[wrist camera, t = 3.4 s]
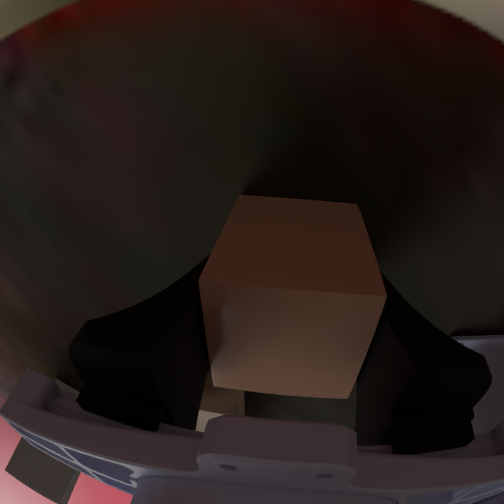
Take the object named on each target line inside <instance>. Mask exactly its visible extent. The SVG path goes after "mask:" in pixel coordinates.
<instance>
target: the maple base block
mask: <svg viewBox="0 0 504 504" xmlns="http://www.w3.org/2000/svg"><path fill="white" fill-rule="evenodd" d="M221 415H243V416H245V401H244V390H236V389H229V388H223V387H216V386H213V380H212V374H211V373H209V372H208V373H207V377H206V381H205V385H204V390H203V394H202V399H201V404H200V409H199V414H198V419H197V425H196V431H199V432H204V430H205V427H206V424H207V422H208V420H209V419H212V418H215V417H218V416H221Z"/></svg>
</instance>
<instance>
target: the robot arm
mask: <svg viewBox="0 0 504 504" xmlns="http://www.w3.org/2000/svg"><path fill="white" fill-rule="evenodd" d="M210 255H211V254H209V255H208V256H207V257H206V258H205V259H204V260H203V261H201V262H200V263H199V264H198V265H197V266H196V267H194V268H193V269H192V270H191V271H190V272H188V273H187V274H186V275H184V276H183V277H182V278H180V279H179V280H178V281H176V282H175V283H173V284H172V285H171V286H169V287H167V288H166V289H164V290H163V291H161V292H159V293H158V294H156V295H154V296H152V297H150V298H148V299H146V300H144V301H142V302H140V303H138V304H136V305H134V306H131V307H129V308H126V309H124V310H121V311H119V312H116V313H113V314H110V315H107V316H103V317H99V318H96V319H92V320H88V321H86V323H85V324H84V325H83V327H82V328H81V330H80V331H79V332H78V334H77V335H76V337H75V338H74V340H73V341H72V343H71V344H70V346H69V348H68V354H69V358H70V360H71V362H72V364H73V366H74V368H75V369H76V371H77V372H78V374H79V376H80V377H81V379H82V381H83V382H84V386H83V388H82V390H81V391H80V393H79V395H78V397H77V396H74V395H72V394H69V393H67V392H64V391H62V390H60V389H59V387H58V385H57V384H56V382H55V381H54V380H53V379H52V378H51V377H49V376H48V375H46V374H44V373H41V372H39V371H37V370H34V369H32V368H27V369H26V371H25V372H24V374H23V375H22V377H21V378H20V380H19V381H18V383H17V385H16V386H15V388H14V389H13V391H12V392H11V394H10V396H9V397H8V399H7V400H6V402H5V404H4V405H3V407H2V409H1V410H0V415H1V416H2V417H3V419H5V421H7V422H8V423H9V424H10V425H11V426H12V427H13V428H14V429H15V430H16V431H17V432H18V433H19V434H20V435H21V436H22V437H23V438H24V439H26V440H27V441H28V442H29V443H30V444H31V445H33V446H34V447H36V448H38V449H39V450H41V451H43V452H45V453H47V454H48V455H50V456H52V457H54V458H55V459H57V460H59V461H61V462H63V463H65V464H67V465H68V466H70V467H72V468H74V469H76V470H78V471H80V472H82V473H84V474H86V475H88V476H90V477H92V478H94V479H96V480H99V481H101V482H103V483H105V484H107V485H109V486H112V487H114V488H116V489H119V490H121V491H124V492H126V493H128V494H131V495H133V498H132V501H131V504H504V335H485V336H454V337H449V336H448V335H446V334H445V333H443V332H442V331H441V330H439V329H438V328H437V327H435V326H434V325H433V324H431V323H430V322H429V321H428V320H426V319H425V318H424V317H423V316H422V315H421V314H420V313H419V312H417V311H416V310H415V309H414V308H413V307H412V306H411V305H410V304H409V303H408V302H407V301H406V300H405V299H404V298H403V297H402V296H401V294H400V293H399V292H398V291H397V290H396V289H395V288H394V287H393V285H392V284H391V283H390V282H389V281H388V279H387V278H386V277H385V276H384V275H383V273H382V272H381V271H380V274H381V277H382V280H383V284H384V287H385V291H386V294H387V298H386V301H385V304H384V307H383V310H382V313H381V316H380V319H379V321H378V324H377V327H376V330H375V333H374V335H373V338H372V341H371V343H370V346H369V349H368V351H367V354H366V356H365V359H364V361H363V364H362V366H361V369H360V371H359V374H358V376H357V409H356V427H355V432H354V431H353V430H351V429H349V428H348V427H346V426H344V425H339V424H332V423H321V422H303V421H289V420H278V419H268V418H259V417H251V416H243V415H221V416H218V417H215V418H212V419H209V420H208V422H207V424H206V427H205V430H204V432H199V431H196V425H197V419H198V414H199V409H200V404H201V399H202V394H203V390H204V385H205V381H206V377H207V373H208V368H209V364H210V361H209V354H208V348H207V341H206V334H205V327H204V319H203V312H202V304H201V296H200V288H199V278H200V276H201V274H202V272H203V270H204V268H205V265H206V263H207V261H208V259H209V257H210Z"/></svg>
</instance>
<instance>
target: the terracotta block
mask: <svg viewBox="0 0 504 504" xmlns="http://www.w3.org/2000/svg"><path fill="white" fill-rule="evenodd" d="M199 288H200V296H201V304H202V312H203V319H204V327H205V334H206V341H207V348H208V354H209V361H210V367H211V374H212V380H213V386H216V387H223V388H229V389H236V390H244V391H252V392H260V393H269V394H279V395H291V396H304V397H320V398H344V399H348V397H349V394H350V392H351V390H352V388H353V385H354V383H355V381H356V378H357V376H358V374H359V371H360V369H361V366H362V364H363V361H364V359H365V356H366V354H367V351H368V349H369V346H370V343H371V341H372V338H373V335H374V333H375V330H376V327H377V324H378V321H379V319H380V316H381V313H382V310H383V307H384V304H385V301H386V298H387V294H386V291H385V287H384V284H383V280H382V277H381V274H380V270H379V267H378V264H377V261H376V257H375V254H374V251H373V248H372V245H371V242H370V239H369V236H368V233H367V230H366V227H365V224H364V221H363V218H362V216H361V213H360V210H359V207H358V204H351V203H340V202H330V201H318V200H307V199H294V198H280V197H265V196H249V195H239V197H238V199H237V201H236V203H235V205H234V207H233V209H232V211H231V213H230V215H229V218H228V220H227V222H226V224H225V226H224V228H223V230H222V232H221V234H220V236H219V238H218V240H217V242H216V244H215V246H214V249H213V251H212V253H211V255H210V257H209V259H208V261H207V263H206V265H205V268H204V270H203V272H202V274H201V276H200V278H199Z"/></svg>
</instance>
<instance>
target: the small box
mask: <svg viewBox="0 0 504 504" xmlns="http://www.w3.org/2000/svg"><path fill="white" fill-rule="evenodd" d="M54 381H55V382H56V384H57V385H58V387H59V389H60V390H62V391H64V392H67V393H69V394H72V395H74V396H77V397H78V395H79V393H80V392H79V391H77V390H76V389H74V388H72V387H70V386H69V385H67V384H65V383H63V382H62V381H60V380H58V379H56V378H55V380H54ZM5 470H6V472H8V473H9V474H11V475H12V476H13V477H15V478H16V479H18V480H19V481H20V482H22V483H23V484H25V485H26V486H28V487H29V488H31V489H33V490H34V491H36V492H37V493H39V494H41V495H42V496H44V497H46V498H48V499H50V500H51V501H53V502H55V503H57V504H67V503H68V501H69V498H70V496H71V493H72V491H73V488H74V486H75V484H76V482H77V479H78V477H79V475H80V471H78V470H76V469H74V468H72V467H70V466H68V465H67V464H65V463H63V462H61V461H59V460H57V459H55V458H54V457H52V456H50V455H48V454H47V453H45V452H43V451H41V450H39V449H38V448H36V447H34V446H33V445H31V444H30V443H29V442H28V441H27V440H26V439H24V438H23V437H22V438H21V440H20V442H19V443H18V445H17V448H16V449H15V452H14V453H13V456H12V457H11V459H10V461H9V463H8V465H7V467H6V469H5Z"/></svg>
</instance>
